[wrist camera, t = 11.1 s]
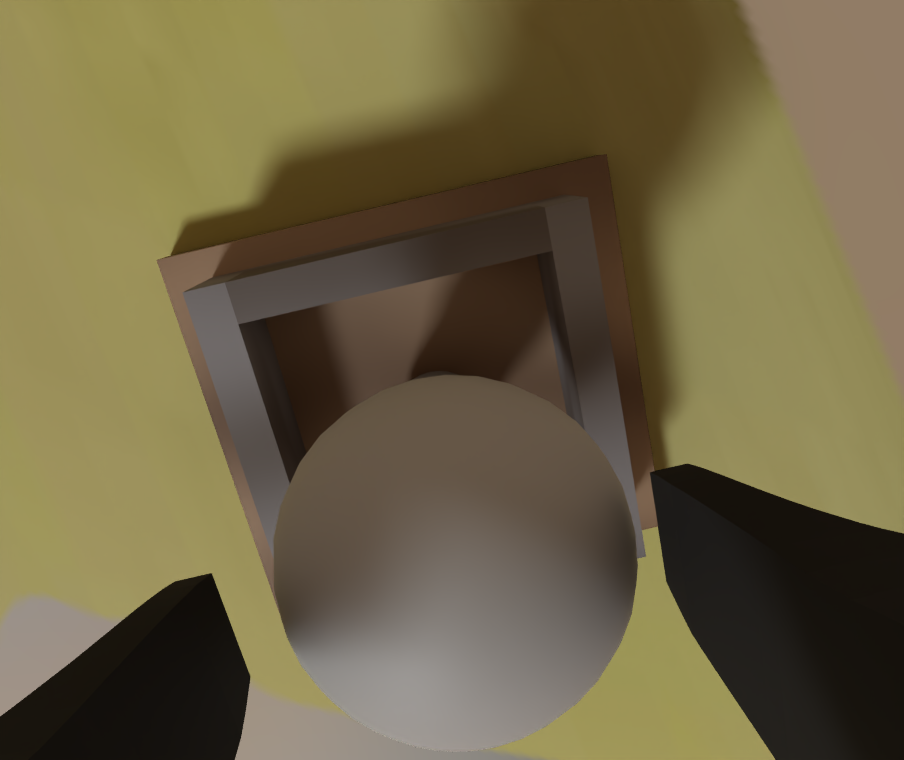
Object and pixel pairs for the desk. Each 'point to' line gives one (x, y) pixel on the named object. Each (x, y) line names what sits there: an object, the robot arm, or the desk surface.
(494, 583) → the lightbulb
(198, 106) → the desk surface
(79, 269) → the desk surface
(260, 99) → the desk surface
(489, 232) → the socket base
